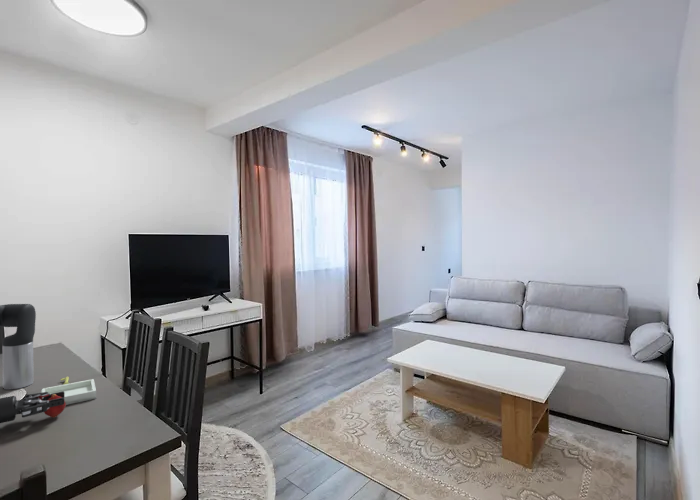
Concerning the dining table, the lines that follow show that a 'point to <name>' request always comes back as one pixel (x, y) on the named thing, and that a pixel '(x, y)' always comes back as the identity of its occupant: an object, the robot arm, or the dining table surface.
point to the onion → (55, 408)
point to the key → (65, 380)
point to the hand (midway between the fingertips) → (64, 397)
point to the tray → (75, 391)
